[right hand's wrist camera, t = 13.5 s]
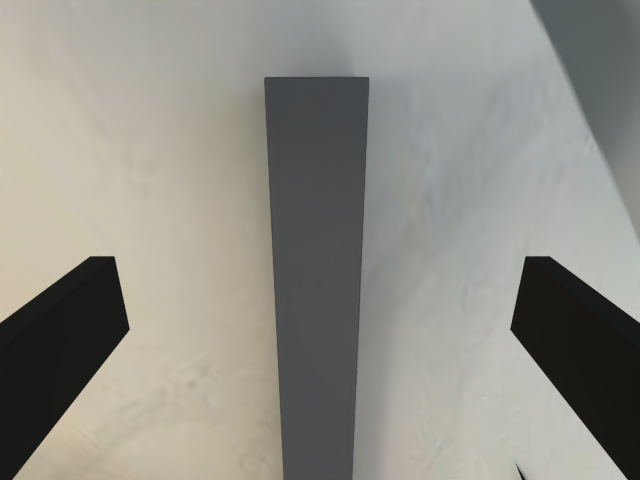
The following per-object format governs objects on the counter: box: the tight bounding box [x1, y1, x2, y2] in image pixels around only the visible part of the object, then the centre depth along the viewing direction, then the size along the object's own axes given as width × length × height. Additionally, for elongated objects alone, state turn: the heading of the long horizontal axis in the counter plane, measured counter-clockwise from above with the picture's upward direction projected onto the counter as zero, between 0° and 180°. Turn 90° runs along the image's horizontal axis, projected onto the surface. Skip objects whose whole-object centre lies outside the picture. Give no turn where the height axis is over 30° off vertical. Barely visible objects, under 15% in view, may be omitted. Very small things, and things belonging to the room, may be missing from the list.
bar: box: [264, 77, 369, 480], centre depth 38 cm, size 68×6×9 cm, turn 0°
